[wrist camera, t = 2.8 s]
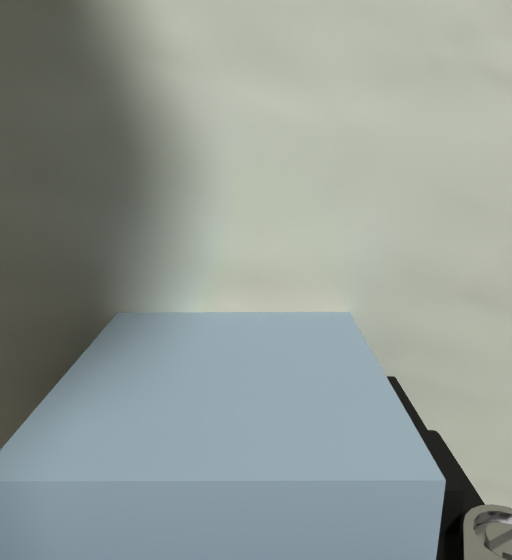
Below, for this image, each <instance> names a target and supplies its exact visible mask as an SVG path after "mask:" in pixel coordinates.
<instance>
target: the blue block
mask: <svg viewBox="0 0 512 560" xmlns="http://www.w3.org/2000/svg"><path fill="white" fill-rule="evenodd" d="M445 484H446V480H445V478H444V476H443V474H442V473H441V471H440V469H439V467H438V466H437V464H436V462H435V460H434V459H433V457H432V455H431V454H430V452H429V450H428V448H427V447H426V445H425V443H424V441H423V440H422V438H421V436H420V434H419V433H418V431H417V429H416V427H415V426H414V424H413V422H412V420H411V419H410V417H409V415H408V413H407V412H406V410H405V408H404V406H403V405H402V403H401V401H400V399H399V398H398V396H397V394H396V392H395V391H394V389H393V387H392V385H391V384H390V382H389V380H388V378H387V377H386V375H385V373H384V371H383V370H382V368H381V366H380V365H379V363H378V361H377V359H376V358H375V356H374V354H373V352H372V351H371V349H370V347H369V345H368V344H367V342H366V340H365V338H364V337H363V335H362V333H361V331H360V330H359V328H358V326H357V324H356V323H355V321H354V319H353V317H352V316H351V314H350V312H204V313H117V314H116V315H115V316H114V317H113V319H112V320H111V321H110V322H109V323H108V324H107V326H106V327H105V328H104V329H103V330H102V332H101V333H100V334H99V335H98V336H97V337H96V339H95V340H94V341H93V342H92V343H91V344H90V346H89V347H88V348H87V349H86V350H85V351H84V353H83V354H82V355H81V356H80V357H79V358H78V360H77V361H76V362H75V363H74V364H73V365H72V367H71V368H70V369H69V370H68V371H67V372H66V374H65V375H64V376H63V377H62V378H61V380H60V381H59V382H58V383H57V384H56V385H55V387H54V388H53V389H52V390H51V391H50V392H49V394H48V395H47V396H46V397H45V398H44V399H43V401H42V402H41V403H40V404H39V405H38V406H37V408H36V409H35V410H34V411H33V412H32V413H31V415H30V416H29V417H28V418H27V419H26V421H25V422H24V423H23V424H22V425H21V426H20V428H19V429H18V430H17V431H16V432H15V433H14V435H13V436H12V437H11V438H10V439H9V440H8V442H7V443H6V444H5V445H4V446H3V447H2V449H1V450H0V560H436V555H437V547H438V539H439V531H440V523H441V515H442V507H443V500H444V492H445Z"/></svg>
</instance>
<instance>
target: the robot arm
mask: <svg viewBox="0 0 512 560" xmlns="http://www.w3.org/2000/svg"><path fill="white" fill-rule="evenodd" d="M387 378H388V380H389V382H390V384H391V385H392V387H393V389H394V391H395V392H396V394H397V396H398V398H399V399H400V401H401V403H402V405H403V406H404V408H405V410H406V412H407V413H408V415H409V417H410V419H411V420H412V422H413V424H414V426H415V427H416V429H417V431H418V433H419V434H420V436H421V438H422V440H423V441H424V443H425V445H426V447H427V448H428V450H429V452H430V454H431V455H432V457H433V459H434V460H435V462H436V464H437V466H438V467H439V469H440V471H441V473H442V474H443V476H444V478H445V480H446V484H445V492H444V500H443V507H442V515H441V523H440V531H439V539H438V547H437V555H436V560H512V509H511V508H509V507H505V506H499V505H493V504H492V505H485V504H484V502H483V501H482V499H481V498H480V496H479V495H478V493H477V492H476V490H475V488H474V487H473V485H472V484H471V482H470V481H469V479H468V478H467V476H466V475H465V473H464V471H463V470H462V468H461V467H460V465H459V464H458V462H457V461H456V459H455V458H454V456H453V454H452V453H451V451H450V450H449V448H448V447H447V445H446V444H445V442H444V441H443V439H442V437H441V436H440V435H439V433H438V432H437V431H434V430H427V428H426V426H425V425H424V423H423V422H422V420H421V418H420V417H419V415H418V413H417V412H416V410H415V409H414V407H413V405H412V404H411V402H410V400H409V399H408V397H407V396H406V394H405V392H404V391H403V389H402V387H401V386H400V384H399V383H398V381H397V379H396V378H395V377H387Z"/></svg>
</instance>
